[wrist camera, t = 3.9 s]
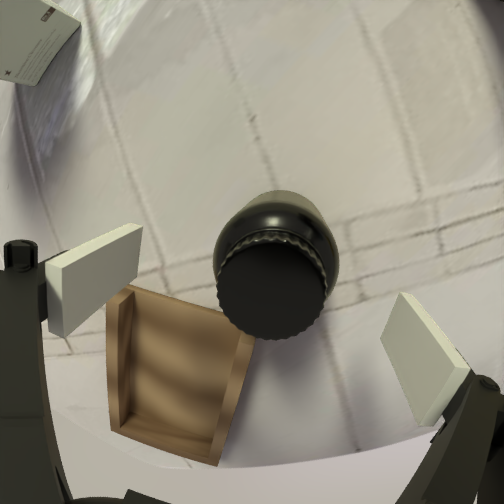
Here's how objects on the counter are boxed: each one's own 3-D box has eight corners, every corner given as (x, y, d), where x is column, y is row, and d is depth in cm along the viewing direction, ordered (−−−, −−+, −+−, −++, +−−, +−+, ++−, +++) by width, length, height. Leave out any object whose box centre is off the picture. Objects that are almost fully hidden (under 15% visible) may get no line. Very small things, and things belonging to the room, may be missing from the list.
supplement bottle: (342, 241, 25) (380, 311, 13) (272, 290, 26) (257, 384, 15) (289, 169, 24) (287, 179, 12) (219, 223, 25) (161, 277, 14)
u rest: (126, 283, 28) (106, 300, 24) (259, 322, 27) (254, 345, 24) (123, 409, 33) (110, 430, 29) (223, 442, 32) (217, 466, 29)
